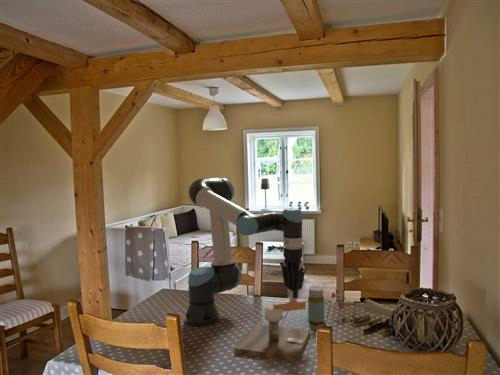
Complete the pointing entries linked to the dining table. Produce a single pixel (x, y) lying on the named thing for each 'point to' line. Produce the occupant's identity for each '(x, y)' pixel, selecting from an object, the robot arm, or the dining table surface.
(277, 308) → the lever switch
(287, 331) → the post base
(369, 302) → the flower vase
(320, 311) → the bottle
